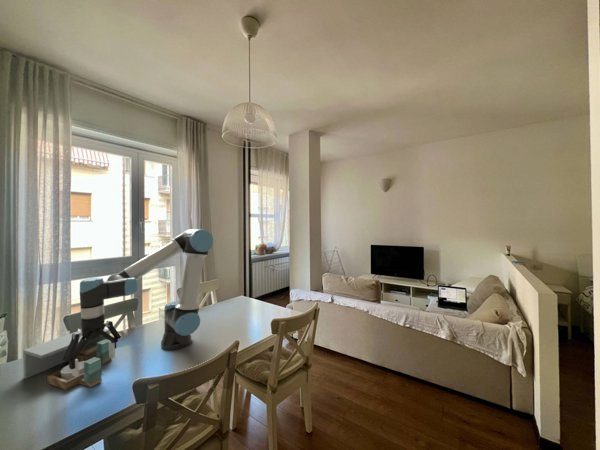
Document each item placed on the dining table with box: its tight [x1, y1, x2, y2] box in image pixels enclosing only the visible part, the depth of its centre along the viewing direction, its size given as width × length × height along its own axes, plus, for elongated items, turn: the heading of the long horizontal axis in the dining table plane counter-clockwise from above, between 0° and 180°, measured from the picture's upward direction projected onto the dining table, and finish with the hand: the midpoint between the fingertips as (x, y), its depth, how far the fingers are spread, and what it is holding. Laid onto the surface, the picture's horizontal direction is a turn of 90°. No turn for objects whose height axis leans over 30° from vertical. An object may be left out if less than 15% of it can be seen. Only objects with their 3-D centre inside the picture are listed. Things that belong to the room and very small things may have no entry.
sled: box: [46, 357, 103, 391], centre depth 106 cm, size 20×13×10 cm, turn 70°
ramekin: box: [60, 361, 85, 381], centre depth 108 cm, size 9×9×4 cm
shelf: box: [22, 328, 111, 379], centre depth 117 cm, size 14×26×12 cm, turn 160°
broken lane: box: [76, 339, 113, 366], centre depth 122 cm, size 18×9×10 cm, turn 70°
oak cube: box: [80, 345, 97, 356], centre depth 123 cm, size 5×5×5 cm
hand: (94, 365), depth 103 cm, fingers open, 13 cm apart
